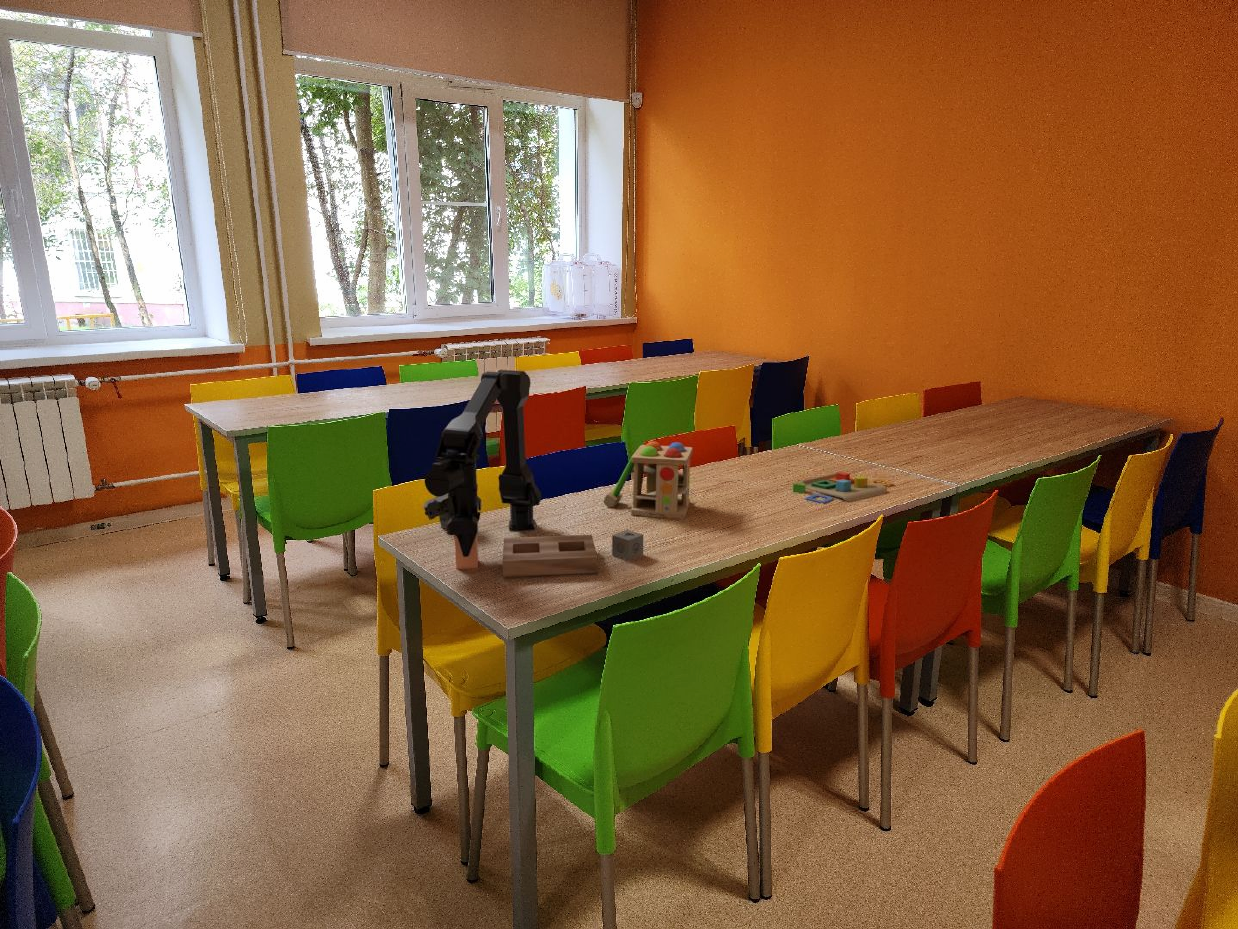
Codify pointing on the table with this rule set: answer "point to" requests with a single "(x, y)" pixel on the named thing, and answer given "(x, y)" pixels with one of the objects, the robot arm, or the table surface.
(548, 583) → the table surface
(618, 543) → the dice cube
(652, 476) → the pounding bench toy
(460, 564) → the pin
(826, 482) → the shape sorter
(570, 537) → the socket block
